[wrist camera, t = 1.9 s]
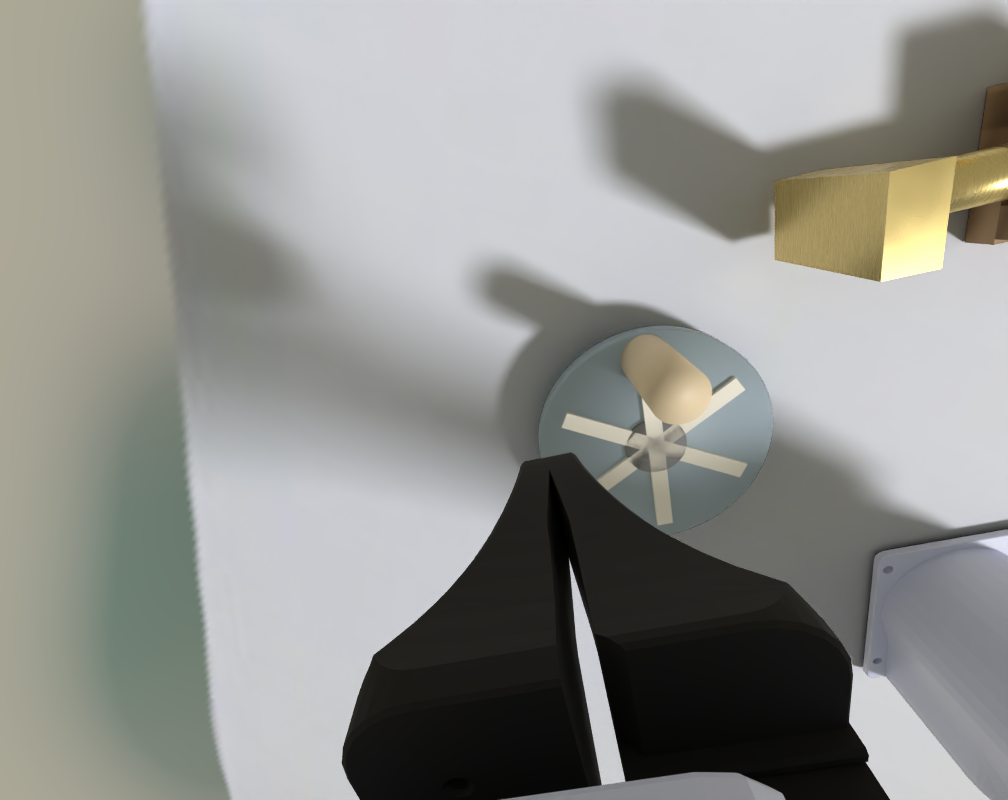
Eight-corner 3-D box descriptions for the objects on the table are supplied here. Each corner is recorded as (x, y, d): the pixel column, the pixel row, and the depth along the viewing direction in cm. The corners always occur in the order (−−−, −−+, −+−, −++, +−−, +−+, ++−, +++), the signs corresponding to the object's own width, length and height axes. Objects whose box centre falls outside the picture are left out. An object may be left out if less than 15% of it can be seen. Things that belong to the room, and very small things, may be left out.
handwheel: (762, 502, 23) (829, 579, 18) (559, 540, 23) (573, 623, 19) (759, 301, 19) (842, 333, 14) (517, 354, 20) (522, 400, 15)
